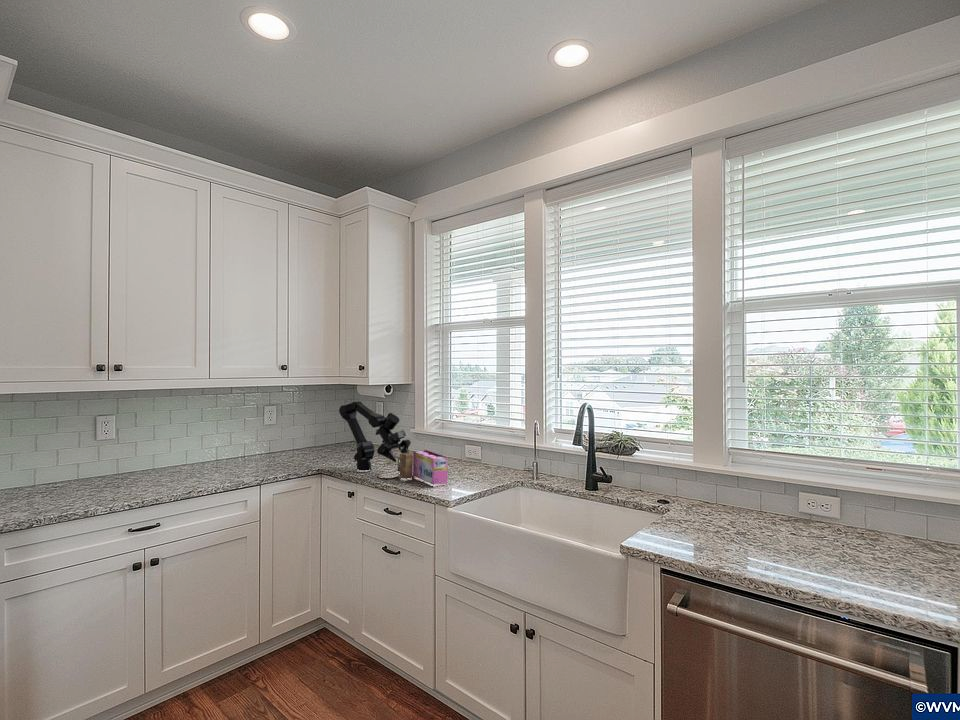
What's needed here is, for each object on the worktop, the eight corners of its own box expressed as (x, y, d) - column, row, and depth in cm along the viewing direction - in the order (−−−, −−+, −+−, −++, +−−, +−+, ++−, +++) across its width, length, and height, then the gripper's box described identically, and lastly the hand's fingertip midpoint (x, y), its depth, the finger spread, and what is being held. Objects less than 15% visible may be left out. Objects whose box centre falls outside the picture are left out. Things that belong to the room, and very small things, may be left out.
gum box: (411, 477, 247) (411, 450, 247) (425, 475, 251) (425, 449, 251) (432, 488, 227) (433, 458, 227) (447, 485, 231) (448, 457, 231)
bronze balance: (384, 474, 253) (384, 455, 253) (387, 472, 257) (387, 453, 257) (410, 475, 251) (410, 456, 251) (412, 473, 255) (412, 454, 255)
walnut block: (399, 480, 240) (399, 454, 240) (405, 478, 244) (406, 452, 244) (406, 481, 237) (406, 455, 237) (412, 480, 241) (412, 453, 241)
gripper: (381, 427, 238) (397, 452, 231) (408, 423, 253) (424, 447, 246) (370, 442, 242) (385, 467, 236) (397, 437, 257) (412, 461, 251)
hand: (402, 460), depth 242 cm, fingers open, 9 cm apart
